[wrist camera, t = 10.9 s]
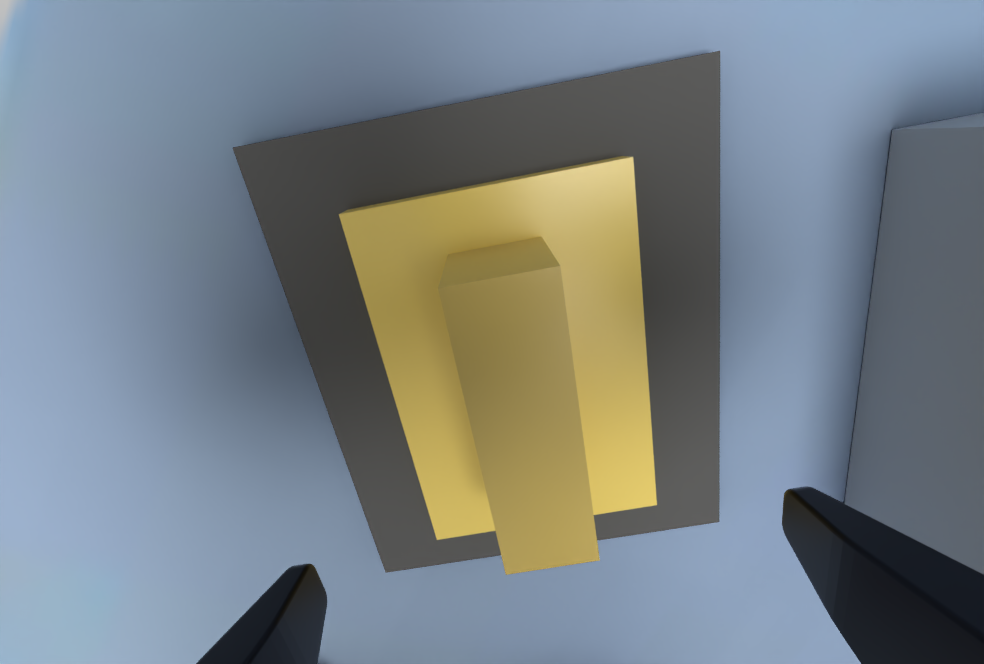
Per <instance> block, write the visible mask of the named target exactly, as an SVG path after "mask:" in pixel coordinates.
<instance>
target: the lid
mask: <svg viewBox="0 0 984 664" xmlns="http://www.w3.org/2000/svg"><path fill="white" fill-rule="evenodd" d="M339 217H340V220H341V223H342V227H343V230H344V233H345V237H346V240H347V243H348V247H349V250H350V253H351V257H352V260H353V263H354V267H355V270H356V273H357V276H358V280H359V283H360V286H361V290H362V293H363V296H364V300H365V303H366V306H367V310H368V313H369V316H370V320H371V323H372V326H373V330H374V333H375V336H376V339H377V343H378V346H379V349H380V353H381V356H382V359H383V363H384V366H385V369H386V373H387V376H388V379H389V383H390V386H391V389H392V392H393V396H394V399H395V402H396V406H397V409H398V412H399V416H400V419H401V422H402V426H403V429H404V432H405V436H406V439H407V442H408V446H409V449H410V452H411V455H412V459H413V462H414V465H415V469H416V472H417V475H418V479H419V482H420V485H421V489H422V492H423V495H424V499H425V502H426V505H427V508H428V512H429V515H430V518H431V522H432V525H433V528H434V532H435V535H436V538H437V540H440V539H446V538H453V537H459V536H465V535H471V534H478V533H484V532H490V531H496V535H497V539H498V543H499V548H500V552H501V556H502V560H503V564H504V569H505V573H506V575H507V574H514V573H520V572H527V571H533V570H540V569H546V568H553V567H559V566H566V565H572V564H579V563H585V562H592V561H598V560H600V559H599V552H598V544H597V537H596V529H595V522H594V515H597V514H604V513H610V512H616V511H623V510H629V509H635V508H642V507H648V506H654V505H657V499H656V484H655V469H654V455H653V440H652V425H651V411H650V396H649V381H648V367H647V352H646V337H645V322H644V308H643V293H642V278H641V264H640V249H639V234H638V220H637V205H636V190H635V176H634V161H633V157H629V156H620V157H615V158H610V159H605V160H600V161H595V162H589V163H584V164H579V165H574V166H569V167H564V168H559V169H554V170H549V171H543V172H538V173H533V174H528V175H523V176H518V177H513V178H508V179H503V180H497V181H492V182H487V183H482V184H477V185H472V186H467V187H462V188H457V189H451V190H446V191H441V192H436V193H431V194H426V195H421V196H416V197H411V198H405V199H400V200H395V201H390V202H385V203H380V204H375V205H370V206H365V207H359V208H354V209H349V210H347V211H345V212H343V213H341V214H339Z"/></svg>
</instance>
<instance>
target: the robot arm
mask: <svg viewBox="0 0 984 664" xmlns="http://www.w3.org/2000/svg"><path fill="white" fill-rule="evenodd" d="M782 526H783V530H784V533H785V536H786V538H787V539H788V541H789V543H790V545H791V547H792V549H793V550H794V552H795V554H796V556H797V558H798V559H799V561H800V563H801V565H802V567H803V569H804V570H805V572H806V574H807V576H808V578H809V579H810V581H811V583H812V585H813V587H814V589H815V590H816V592H817V594H818V596H819V598H820V599H821V601H822V603H823V605H824V607H825V608H826V610H827V612H828V614H829V615H830V617H831V619H832V620H833V622H834V623H835V625H836V627H837V628H838V630H839V631H840V633H841V634H842V636H843V637H844V639H845V640H846V642H847V643H848V645H849V646H850V648H851V649H852V650H853V652H854V653H855V655H856V656H857V658H858V659H859V661H860V662H861V664H984V574H982V573H980V572H978V571H976V570H974V569H972V568H970V567H968V566H966V565H964V564H962V563H960V562H958V561H956V560H954V559H952V558H950V557H948V556H946V555H944V554H942V553H941V552H939V551H937V550H935V549H933V548H931V547H929V546H927V545H925V544H923V543H921V542H919V541H917V540H915V539H913V538H911V537H909V536H907V535H905V534H903V533H901V532H899V531H897V530H895V529H893V528H891V527H889V526H887V525H885V524H883V523H881V522H879V521H877V520H875V519H873V518H872V517H870V516H868V515H866V514H864V513H862V512H860V511H858V510H856V509H854V508H852V507H850V506H848V505H846V504H844V503H842V502H840V501H838V500H836V499H834V498H832V497H830V496H828V495H826V494H824V493H822V492H820V491H818V490H816V489H814V488H812V487H800V488H793V489H788V490H787V491H786V492H785V493H784V502H783V516H782ZM326 608H327V595H326V591H325V589H324V587H323V584H322V582H321V580H320V578H319V575H318V573H317V571H316V569H315V567H314V566H313V565H312V564H303V565H296V566H292V567H290V568H289V569H287V570H286V571H285V572H284V573H283V574H282V575H281V576H280V577H279V579H278V580H277V581H276V582H275V583H274V584H273V585H272V586H271V587H270V588H269V589H268V590H267V591H266V592H265V593H264V594H263V595H262V596H261V597H260V598H259V599H258V600H257V601H256V602H255V603H254V604H253V605H252V606H251V607H250V608H249V610H248V611H247V612H246V613H245V614H244V615H243V616H242V617H241V618H240V619H239V620H238V621H237V622H236V623H235V624H234V625H233V626H232V627H231V628H230V629H229V630H228V631H227V632H226V633H225V634H224V635H223V636H222V637H221V638H220V640H219V641H218V642H217V643H216V644H215V645H214V646H213V647H212V648H211V649H210V650H209V651H208V652H207V653H206V654H205V655H204V656H203V657H202V658H201V659H200V660H199V661H198V662H197V663H196V664H317V663H318V657H319V651H320V645H321V638H322V632H323V626H324V620H325V614H326Z"/></svg>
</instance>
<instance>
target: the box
mask: <svg viewBox="0 0 984 664" xmlns="http://www.w3.org/2000/svg"><path fill="white" fill-rule="evenodd" d="M844 504H846V505H848V506H850V507H852V508H854V509H856V510H858V511H860V512H862V513H864V514H866V515H868V516H870V517H872V518H873V519H875V520H877V521H879V522H881V523H883V524H885V525H887V526H889V527H891V528H893V529H895V530H897V531H899V532H901V533H903V534H905V535H907V536H909V537H911V538H913V539H915V540H917V541H919V542H921V543H923V544H925V545H927V546H929V547H931V548H933V549H935V550H937V551H939V552H941V553H942V554H944V555H946V556H948V557H950V558H952V559H954V560H956V561H958V562H960V563H962V564H964V565H966V566H968V567H970V568H972V569H974V570H976V571H978V572H980V573H982V574H984V113H978V114H973V115H968V116H962V117H957V118H952V119H946V120H941V121H936V122H930V123H925V124H920V125H914V126H909V127H904V128H898V129H893V130H892V136H891V144H890V151H889V159H888V167H887V175H886V183H885V190H884V198H883V206H882V214H881V222H880V229H879V237H878V245H877V253H876V261H875V268H874V276H873V284H872V292H871V300H870V307H869V315H868V323H867V331H866V338H865V346H864V354H863V362H862V370H861V377H860V385H859V393H858V401H857V409H856V416H855V424H854V432H853V440H852V448H851V455H850V463H849V471H848V479H847V486H846V494H845V502H844Z"/></svg>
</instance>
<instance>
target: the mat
mask: <svg viewBox="0 0 984 664" xmlns="http://www.w3.org/2000/svg"><path fill="white" fill-rule="evenodd" d="M233 150H234V153H235V156H236V159H237V162H238V164H239V167H240V170H241V173H242V175H243V178H244V181H245V184H246V186H247V189H248V192H249V195H250V198H251V200H252V203H253V206H254V209H255V211H256V214H257V217H258V220H259V222H260V225H261V228H262V231H263V234H264V236H265V239H266V242H267V245H268V247H269V250H270V253H271V256H272V259H273V261H274V264H275V267H276V270H277V272H278V275H279V278H280V281H281V283H282V286H283V289H284V292H285V295H286V297H287V300H288V303H289V306H290V308H291V311H292V314H293V317H294V320H295V322H296V325H297V328H298V331H299V333H300V336H301V339H302V342H303V344H304V347H305V350H306V353H307V356H308V358H309V361H310V364H311V367H312V369H313V372H314V375H315V378H316V380H317V383H318V386H319V389H320V392H321V394H322V397H323V400H324V403H325V405H326V408H327V411H328V414H329V417H330V419H331V422H332V425H333V428H334V430H335V433H336V436H337V439H338V441H339V444H340V447H341V450H342V453H343V455H344V458H345V461H346V464H347V466H348V469H349V472H350V475H351V478H352V480H353V483H354V486H355V489H356V491H357V494H358V497H359V500H360V502H361V505H362V508H363V511H364V514H365V516H366V519H367V522H368V525H369V527H370V530H371V533H372V536H373V538H374V541H375V544H376V547H377V550H378V552H379V555H380V558H381V561H382V563H383V566H384V569H385V572H393V571H399V570H406V569H413V568H419V567H426V566H432V565H439V564H446V563H452V562H459V561H465V560H472V559H478V558H485V557H492V556H498V555H501V552H500V548H499V543H498V539H497V535H496V531H490V532H484V533H478V534H471V535H465V536H459V537H453V538H446V539H440V540H437V538H436V535H435V532H434V528H433V525H432V522H431V518H430V515H429V512H428V508H427V505H426V502H425V499H424V495H423V492H422V489H421V485H420V482H419V479H418V475H417V472H416V469H415V465H414V462H413V459H412V455H411V452H410V449H409V446H408V442H407V439H406V436H405V432H404V429H403V426H402V422H401V419H400V416H399V412H398V409H397V406H396V402H395V399H394V396H393V392H392V389H391V386H390V383H389V379H388V376H387V373H386V369H385V366H384V363H383V359H382V356H381V353H380V349H379V346H378V343H377V339H376V336H375V333H374V330H373V326H372V323H371V320H370V316H369V313H368V310H367V306H366V303H365V300H364V296H363V293H362V290H361V286H360V283H359V280H358V276H357V273H356V270H355V267H354V263H353V260H352V257H351V253H350V250H349V247H348V243H347V240H346V237H345V233H344V230H343V227H342V223H341V220H340V217H339V214H341V213H343V212H345V211H347V210H349V209H354V208H359V207H365V206H370V205H375V204H380V203H385V202H390V201H395V200H400V199H405V198H411V197H416V196H421V195H426V194H431V193H436V192H441V191H446V190H451V189H457V188H462V187H467V186H472V185H477V184H482V183H487V182H492V181H497V180H503V179H508V178H513V177H518V176H523V175H528V174H533V173H538V172H543V171H549V170H554V169H559V168H564V167H569V166H574V165H579V164H584V163H589V162H595V161H600V160H605V159H610V158H615V157H620V156H629V157H633V161H634V176H635V190H636V205H637V220H638V234H639V249H640V264H641V278H642V293H643V308H644V322H645V337H646V352H647V367H648V381H649V396H650V411H651V425H652V440H653V455H654V469H655V484H656V499H657V505H654V506H648V507H642V508H635V509H629V510H623V511H616V512H610V513H604V514H597V515H594V522H595V529H596V537H597V540H603V539H610V538H617V537H623V536H630V535H636V534H643V533H649V532H656V531H663V530H669V529H676V528H682V527H689V526H695V525H702V524H709V523H715V522H719V396H720V51H717V52H712V53H707V54H702V55H697V56H692V57H687V58H681V59H676V60H671V61H666V62H661V63H656V64H651V65H646V66H641V67H636V68H631V69H626V70H621V71H616V72H611V73H606V74H601V75H596V76H591V77H586V78H581V79H576V80H571V81H566V82H561V83H556V84H551V85H546V86H541V87H536V88H531V89H526V90H520V91H515V92H510V93H505V94H500V95H495V96H490V97H485V98H480V99H475V100H470V101H465V102H460V103H455V104H450V105H445V106H440V107H435V108H430V109H425V110H420V111H415V112H410V113H405V114H400V115H395V116H390V117H385V118H380V119H375V120H370V121H365V122H359V123H354V124H349V125H344V126H339V127H334V128H329V129H324V130H319V131H314V132H309V133H304V134H299V135H294V136H289V137H284V138H279V139H274V140H269V141H264V142H259V143H254V144H249V145H244V146H239V147H234V148H233Z"/></svg>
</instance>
